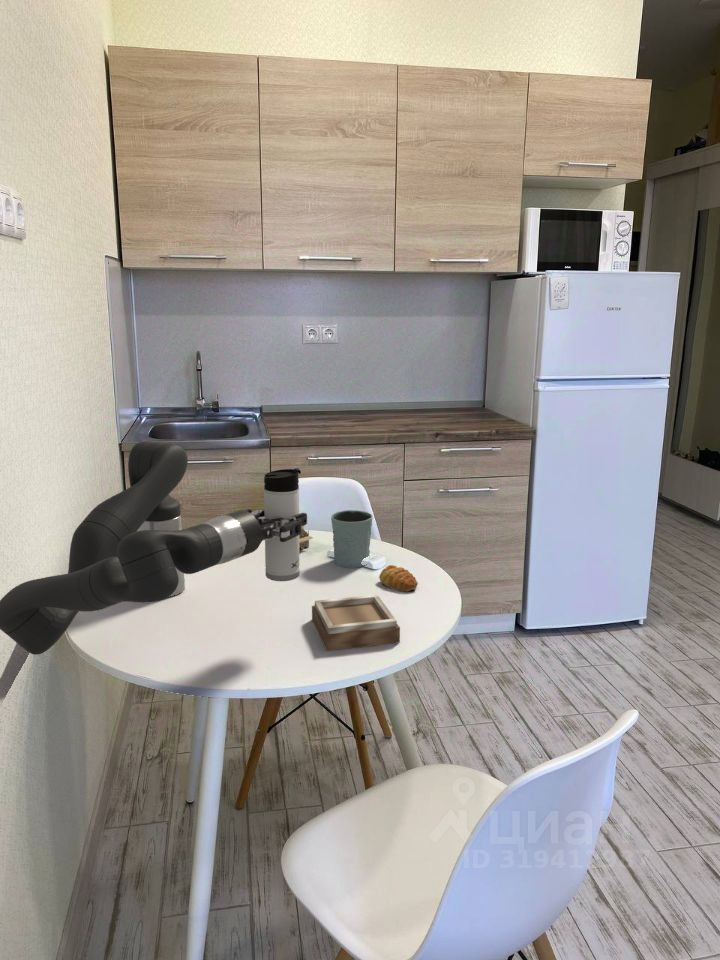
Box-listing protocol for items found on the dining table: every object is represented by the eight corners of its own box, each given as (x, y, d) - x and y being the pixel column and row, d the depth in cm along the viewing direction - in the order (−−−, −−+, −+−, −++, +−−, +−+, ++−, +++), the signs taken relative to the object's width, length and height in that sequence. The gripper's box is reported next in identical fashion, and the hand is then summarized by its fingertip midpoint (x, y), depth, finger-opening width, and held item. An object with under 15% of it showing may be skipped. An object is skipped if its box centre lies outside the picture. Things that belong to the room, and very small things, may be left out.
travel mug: (304, 579, 129) (304, 472, 125) (268, 583, 128) (266, 474, 123) (297, 568, 135) (297, 465, 131) (263, 571, 133) (261, 467, 129)
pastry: (425, 588, 160) (425, 572, 159) (402, 596, 156) (402, 579, 155) (398, 576, 167) (398, 561, 166) (375, 583, 163) (375, 567, 162)
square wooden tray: (326, 650, 130) (326, 629, 129) (312, 619, 143) (311, 600, 142) (399, 642, 133) (400, 621, 132) (378, 612, 146) (379, 593, 145)
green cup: (367, 554, 182) (367, 509, 179) (376, 567, 172) (377, 520, 169) (328, 556, 180) (327, 511, 177) (335, 570, 170) (335, 522, 167)
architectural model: (313, 550, 186) (313, 523, 184) (294, 557, 181) (294, 529, 179) (304, 547, 188) (303, 520, 186) (285, 554, 183) (284, 526, 181)
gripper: (197, 551, 122) (261, 528, 136) (260, 568, 114) (322, 541, 128) (195, 509, 120) (260, 490, 134) (259, 523, 113) (322, 501, 126)
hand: (290, 515), depth 131 cm, fingers closed on travel mug, 6 cm apart
